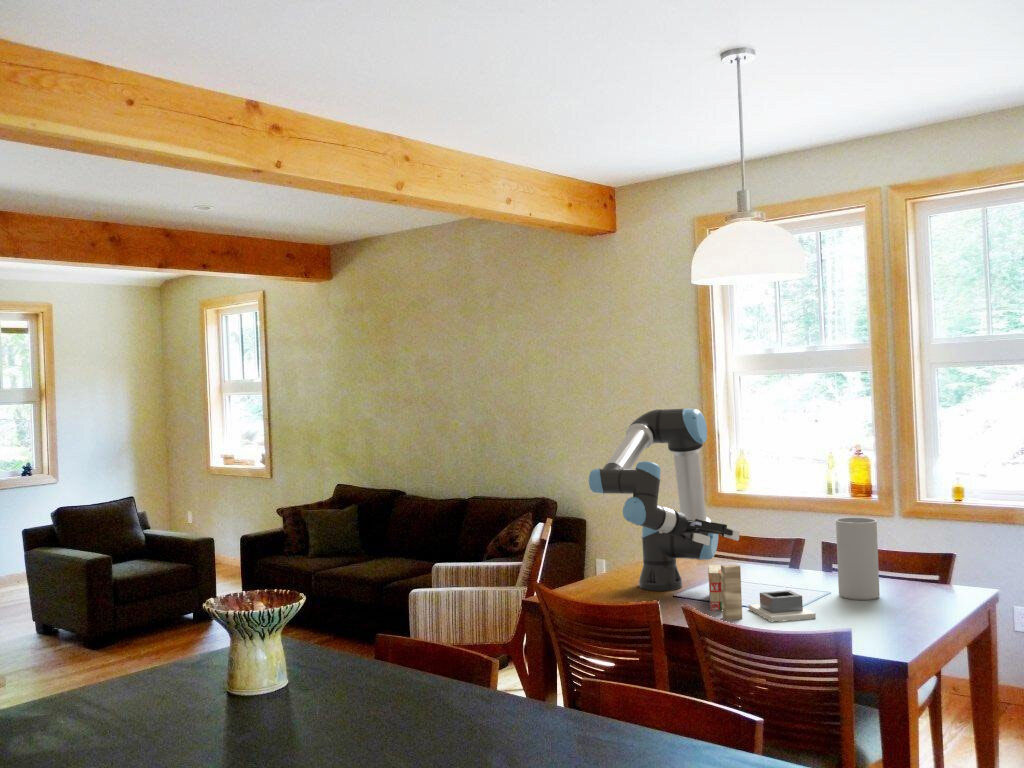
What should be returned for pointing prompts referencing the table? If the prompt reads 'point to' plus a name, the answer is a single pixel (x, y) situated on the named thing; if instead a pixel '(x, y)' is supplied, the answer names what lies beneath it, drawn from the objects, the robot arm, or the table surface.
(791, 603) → the grey rectangular socket
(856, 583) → the cylinder vase
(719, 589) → the stack of blocks
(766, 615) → the base board
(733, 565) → the ash slat
